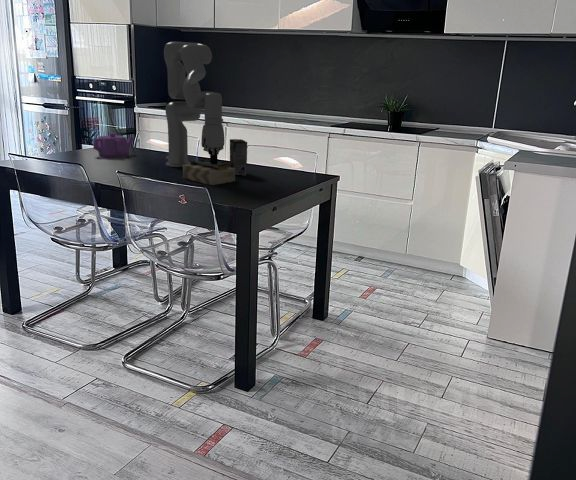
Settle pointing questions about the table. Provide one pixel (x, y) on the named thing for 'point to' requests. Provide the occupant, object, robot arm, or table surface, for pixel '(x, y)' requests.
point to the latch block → (209, 173)
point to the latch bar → (206, 163)
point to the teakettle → (112, 146)
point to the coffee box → (238, 156)
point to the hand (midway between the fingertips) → (213, 163)
